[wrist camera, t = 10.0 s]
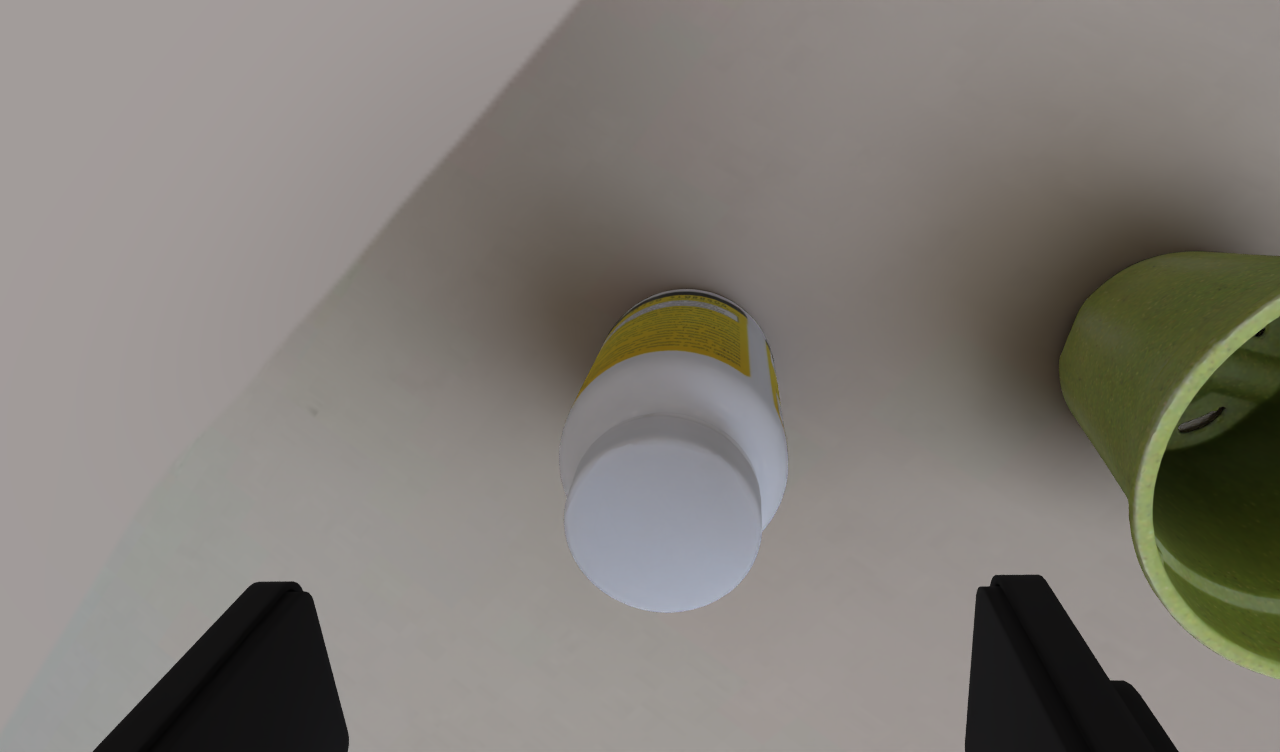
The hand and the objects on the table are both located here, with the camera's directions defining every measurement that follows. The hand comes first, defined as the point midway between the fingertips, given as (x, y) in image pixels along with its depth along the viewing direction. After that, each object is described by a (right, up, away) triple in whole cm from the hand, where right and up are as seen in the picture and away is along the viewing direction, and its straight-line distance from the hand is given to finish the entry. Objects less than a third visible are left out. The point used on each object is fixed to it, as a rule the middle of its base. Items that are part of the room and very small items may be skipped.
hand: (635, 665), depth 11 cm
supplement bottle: (+2, +4, +14) cm, 15 cm away
